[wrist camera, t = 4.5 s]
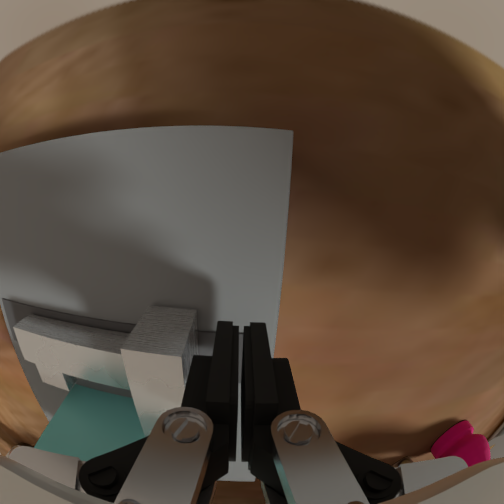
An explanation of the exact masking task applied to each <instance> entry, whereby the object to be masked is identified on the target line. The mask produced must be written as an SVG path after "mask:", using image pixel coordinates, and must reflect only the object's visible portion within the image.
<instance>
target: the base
mask: <svg viewBox="0 0 504 504" xmlns="http://www.w3.org/2000/svg"><path fill="white" fill-rule="evenodd" d="M292 148H293V131H292V130H282V129H271V128H258V127H240V126H162V127H145V128H132V129H121V130H112V131H104V132H96V133H89V134H82V135H76V136H70V137H64V138H59V139H54V140H49V141H44V142H40V143H35V144H31V145H27V146H23V147H19V148H15V149H12V150H8V151H5V152H1V153H0V305H1V308H2V312H3V316H4V319H5V322H6V325H7V329H8V332H9V335H10V338H11V341H12V343H13V346H14V349H15V351H16V354H17V357H18V359H19V362H20V364H21V366H22V369H23V371H24V373H25V376H26V378H27V380H28V382H29V384H30V386H31V389H32V391H33V393H34V395H35V397H36V399H37V401H38V402H39V404H40V406H41V408H42V410H43V412H44V413H45V415H46V417H47V419H48V420H49V422H50V421H51V419H52V418H53V416H54V414H55V413H56V411H57V410H58V408H59V407H60V405H61V404H62V402H63V401H64V399H65V398H66V396H67V395H68V393H69V392H70V391H71V390H70V391H67V390H64V389H61V388H58V387H55V386H53V385H50V384H47V383H44V382H43V381H42V379H41V376H40V374H39V372H38V369H37V367H36V364H35V363H32V362H29V361H27V360H25V359H24V357H23V354H22V351H21V349H20V346H19V343H18V340H17V337H16V334H15V331H14V328H13V327H14V326H15V325H16V324H17V323H19V322H20V321H21V320H22V319H24V318H25V317H26V316H27V315H29V314H34V315H38V316H42V317H46V318H50V319H54V320H59V321H63V322H68V323H73V324H78V325H83V326H88V327H94V328H99V329H105V330H111V331H117V332H124V333H131V332H132V330H133V329H134V327H135V326H136V324H137V323H138V321H139V320H140V318H141V317H142V315H143V314H144V313H145V311H146V310H147V308H148V307H149V306H159V307H170V308H182V309H196V310H197V332H198V355H204V356H212V354H213V347H214V341H215V334H216V328H217V322H218V321H233V325H235V326H239V377H238V423H237V446H236V462H230V461H229V470H228V473H227V474H226V475H224V476H223V477H221V478H220V479H218V480H221V481H255V476H253V475H252V474H251V473H250V470H248V462H241V370H242V351H243V332H244V326H250V322H263V323H266V328H267V334H268V340H269V346H270V352H271V358H273V356H274V348H275V340H276V332H277V323H278V314H279V305H280V296H281V286H282V276H283V266H284V255H285V244H286V233H287V221H288V208H289V194H290V180H291V165H292ZM76 379H77V381H76V382H75V384H77V385H81V386H84V387H88V388H91V389H95V390H99V391H103V392H107V393H111V394H116V395H120V396H125V397H130V398H133V397H132V394H131V390H127V389H122V388H117V387H113V386H108V385H104V384H100V383H96V382H92V381H88V380H84V379H81V378H77V377H76ZM75 384H74V385H75ZM74 385H73V386H74ZM72 388H73V387H72ZM72 388H71V389H72Z"/></svg>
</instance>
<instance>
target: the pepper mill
mask: <svg viewBox="0 0 504 504" xmlns="http://www.w3.org/2000/svg"><path fill="white" fill-rule="evenodd" d="M473 430H474V428H473V427H472V425H471V424H470V423H469V421H462V422H459V423H457V424H456V425H454V426H453V427H451V428H450V429H449V430H447V431H446V432H445V433H444V434H443V435H442V436H440V438H439V439H438V440H437V441H436V442H435V443H434V444H433V446H432V448H431V452H432V454H433V456H434V457H435V459H438V458H443V457H448V456H457V457H460V458H462V459H463V460H464V461H465V462H466V464H467V465H468V467H470V466H473V465H475V464H478V463H481V462H484V461H488V460H490V448H489V444H488V441H487V440H486V438H485V436H483V435H481V434H472V433H473Z"/></svg>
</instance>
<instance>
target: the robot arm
mask: <svg viewBox="0 0 504 504" xmlns="http://www.w3.org/2000/svg"><path fill="white" fill-rule="evenodd" d="M238 377H239V326H235V325H233V321H218V322H217V328H216V334H215V341H214V347H213V354H212V356H204V355H193V358H192V362H191V366H190V370H189V374H188V378H187V382H186V386H185V391H184V395H183V399H182V403H181V407H176V408H173V409H170V410H167V411H166V412H164V413H163V414H161V416H160V417H159V418H158V419H157V421H156V423H155V425H154V427H153V429H152V431H151V433H150V435H148V436H146V437H144V438H142V439H139V440H137V441H135V442H132V443H130V444H128V445H125V446H123V447H120V448H118V449H115V450H113V451H110V452H108V453H105V454H102V455H100V456H97V457H94V458H92V459H90V460H88V461H81V460H80V459H79V457H73V456H67V455H62V454H57V453H53V452H48V451H44V450H40V449H36V448H32V447H28V446H19V447H16V448H15V449H13V450H12V451H11V453H10V455H9V457H8V458H7V457H5V456H2V455H0V504H212V501H213V497H214V493H215V489H216V486H217V480H218V479H220V478H221V477H223V476H224V475H226V474H227V473H228V470H229V461H230V462H236V446H237V423H238ZM241 462H248V470H250V473H251V474H252V475H253V476H255V477H256V478H258V479H259V480H261V488H262V491H263V495H264V498H265V502H266V504H504V457H503V458H497V459H492V460H488V461H484V462H481V463H478V464H475V465H473V466H470V467H468V465H467V464H466V462H465V461H464V460H463V459H462V458H460V457H457V456H448V457H443V458H438V459H433V460H427V461H421V462H414V463H406V464H400V465H399V467H395V468H394V467H392V466H390V465H388V464H386V463H384V462H381V461H379V460H376V459H374V458H371V457H369V456H367V455H364V454H362V453H360V452H358V451H355V450H353V449H351V448H349V447H347V446H345V445H342V444H340V443H338V442H336V441H335V440H334V438H333V436H332V434H331V433H330V431H329V429H328V427H327V425H326V423H325V422H324V421H323V420H322V418H320V417H319V416H317V415H316V414H314V413H311V412H309V411H304V410H301V409H300V405H299V401H298V397H297V393H296V389H295V385H294V381H293V376H292V372H291V368H290V364H289V361H288V359H287V358H271V352H270V346H269V340H268V334H267V328H266V323H263V322H250V326H244V332H243V351H242V370H241Z"/></svg>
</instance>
